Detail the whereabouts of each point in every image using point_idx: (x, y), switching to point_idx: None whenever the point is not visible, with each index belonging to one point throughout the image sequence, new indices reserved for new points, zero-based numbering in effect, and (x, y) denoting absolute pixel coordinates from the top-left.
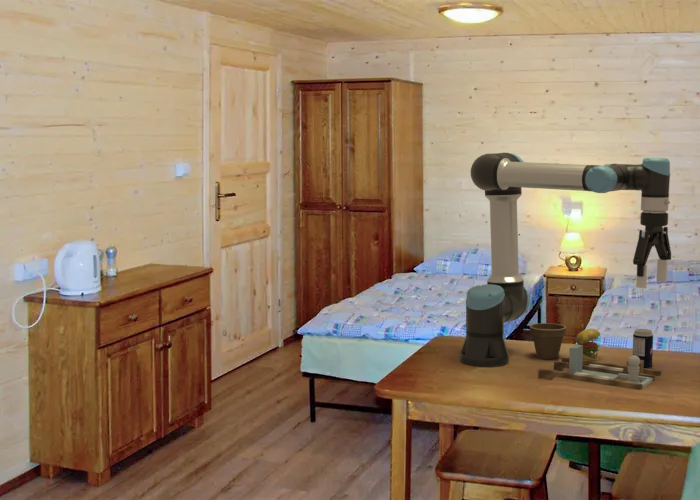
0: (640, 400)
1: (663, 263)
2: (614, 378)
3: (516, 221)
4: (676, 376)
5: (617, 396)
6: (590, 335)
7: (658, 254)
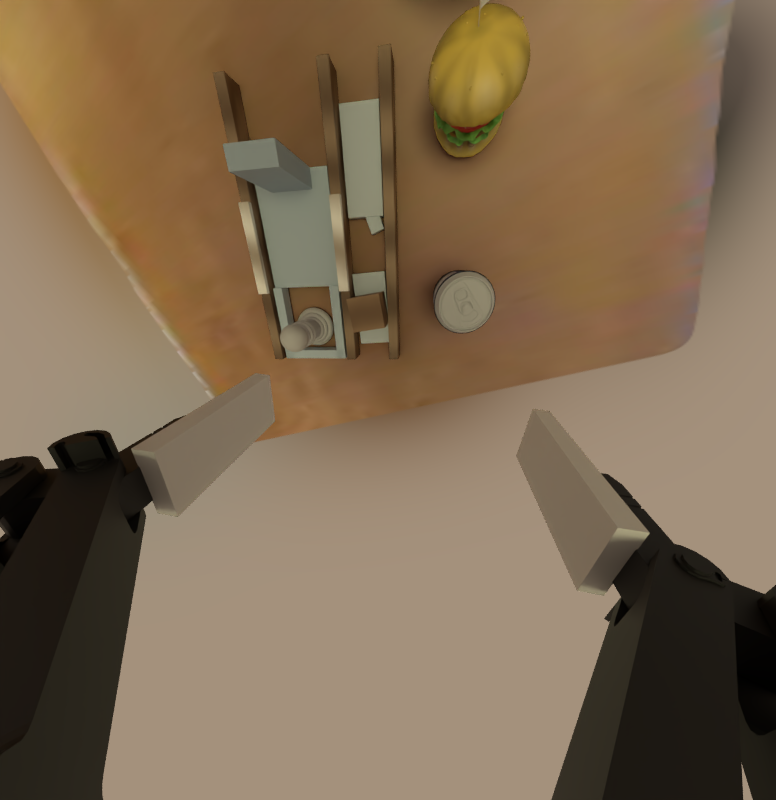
0: (252, 365)
1: (570, 542)
2: (309, 286)
3: None
4: (437, 372)
5: (243, 326)
6: (439, 98)
7: (641, 602)
